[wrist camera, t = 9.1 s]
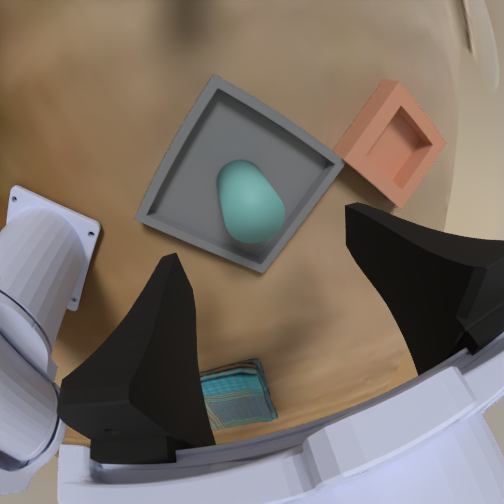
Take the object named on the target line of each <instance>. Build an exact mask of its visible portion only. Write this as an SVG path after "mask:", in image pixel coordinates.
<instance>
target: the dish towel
mask: <svg viewBox="0 0 504 504" xmlns="http://www.w3.org/2000/svg"><path fill="white" fill-rule="evenodd" d="M199 374H200V379H201V385H202V390H203V395H204V400H205V405H206V409H207V413H208V417H209V421H210V425H211V429H212V430H217V429H222V428H226V427H232V426H236V425H244V424H248V423H255V422H267V421H272V420H273V419H277V417H278V414H277V410H276V408H274V407H273V404H272V402H271V399H270V393H269V389H268V387H267V383H266V379H265V375H264V371H263V369H262V366H261V363H260V361H259V359H251V360H246V361H242V362H239V363H235V364H231V365H227V366H224V367H220V368H216V369H213V370H209V371H206V372H202V373H199Z"/></svg>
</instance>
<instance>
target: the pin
mask: <svg viewBox="0 0 504 504" xmlns="http://www.w3.org/2000/svg"><path fill="white" fill-rule="evenodd" d="M216 186H217V191H218V195H219V200H220V204H221V209H222V213H223V218H224V222H225V226H226V229H227V230H228V232H229V233H230V235H231V236H232V237H234V238H235V239H237V240H239V241H241V242H244V243H259V242H263V241H265V240H267V239H269V238H271V237H272V236H274V235H275V234H276V233H277V232H278V231H279V229H280V228H281V226H282V224H283V222H284V218H285V208H284V205H283V202H282V201H281V199H280V198H279V196H278V195H277V193H276V192H275V190H274V189H273V188H272V186H271V185H270V183H269V182H268V180H267V179H266V178H265V176H264V175H263V173H262V172H261V170H260V169H259V168H258V167H257V166H256V165H255V164H254V163H252V162H250V161H248V160H241V159H240V160H234V161H231V162H229V163H227V164H226V165H225V166H223V167H222V169H221V170H220V171H219V173H218V176H217V179H216Z"/></svg>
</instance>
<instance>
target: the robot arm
mask: <svg viewBox="0 0 504 504" xmlns="http://www.w3.org/2000/svg"><path fill="white" fill-rule="evenodd" d="M14 196H15V197H16V198H17V200H15V198H14ZM345 221H346V246H347V248H348V249H349V251H350V253H351V255H352V257H353V258H354V260H355V262H356V263H357V265H358V266H359V267H360V269H361V270H362V271H363V273H364V274H365V275H366V277H367V278H368V279H369V280H370V282H371V283H372V284H373V286H374V287H375V288H376V290H377V291H378V293H379V294H380V295H381V297H382V298H383V300H384V301H385V303H386V304H387V306H388V308H389V309H390V311H391V313H392V315H393V317H394V319H395V320H396V322H397V324H398V326H399V329H400V331H401V333H402V335H403V337H404V339H405V341H406V344H407V346H408V348H409V351H410V353H411V356H412V358H413V361H414V364H415V367H416V370H417V373H418V377H415V378H414V379H412V380H410V381H408V382H406V383H404V384H402V385H400V386H398V387H396V388H394V389H392V390H390V391H388V392H385V393H383V394H381V395H379V396H377V397H374V398H372V399H370V400H368V401H365V402H363V403H360V404H358V405H356V406H353V407H351V408H348V409H346V410H343V411H340V412H338V413H335V414H332V415H329V416H327V417H324V418H321V419H318V420H315V421H312V422H309V423H306V424H302V425H299V426H296V427H293V428H289V429H286V430H282V431H278V432H275V433H271V434H267V435H263V436H258V437H254V438H250V439H245V440H240V441H235V442H230V443H225V444H219V445H216V443H215V440H214V436H213V433H212V429H211V425H210V421H209V417H208V413H207V409H206V405H205V400H204V395H203V390H202V385H201V379H200V374H199V367H198V359H197V336H196V308H195V301H194V295H193V289H192V287H191V285H190V282H189V280H188V278H187V276H186V274H185V271H184V269H183V267H182V265H181V262H180V260H179V258H178V256H177V253H173V254H170V255H167V256H163V257H162V258H161V260H160V261H159V263H158V265H157V267H156V268H155V270H154V272H153V274H152V275H151V277H150V279H149V280H148V282H147V284H146V286H145V287H144V289H143V291H142V292H141V294H140V295H139V297H138V298H137V300H136V302H135V303H134V305H133V306H132V308H131V309H130V311H129V312H128V314H127V315H126V316H125V318H124V319H123V320H122V322H121V323H120V324H119V325H118V327H117V328H116V329H115V330H114V331H113V333H112V334H111V335H110V336H109V337H108V338H107V339H106V340H105V342H104V343H103V344H102V345H101V346H100V347H99V348H98V349H97V350H96V351H95V352H94V353H93V354H92V355H91V356H90V357H89V358H88V359H87V360H86V361H84V362H83V363H82V364H81V365H80V366H79V367H77V368H76V369H75V370H74V371H72V372H71V373H70V374H69V375H68V376H66V377H65V378H64V379H62V383H61V388H59V386H58V385H57V384H56V383H54V381H55V376H56V372H57V368H58V366H57V365H56V364H55V363H54V362H53V360H52V358H51V354H52V351H53V347H54V344H55V341H56V338H57V334H58V331H59V328H60V325H61V323H62V320H63V317H64V314H65V311H66V309H69V310H72V311H76V310H77V309H78V306H79V301H80V297H81V293H82V289H83V285H84V282H85V278H86V274H87V271H88V267H89V264H90V260H91V257H92V254H93V250H94V247H95V244H96V241H97V238H98V235H99V232H100V229H101V226H100V224H99V222H97V221H95V220H93V219H91V218H88V217H86V216H84V215H82V214H79V213H77V212H75V211H73V210H70V209H68V208H66V207H64V206H62V205H59V204H57V203H55V202H53V201H51V200H48V199H46V198H44V197H42V196H40V195H37V194H35V193H33V192H31V191H29V190H27V189H25V188H23V187H20V186H18V185H16V186H14V187H13V188H12V189H11V192H10V199H9V206H8V214H7V223H6V226H5V227H4V228H3V229H2V231H1V232H0V496H2V495H7V494H13V493H17V492H21V491H24V490H26V489H27V488H28V486H29V483H30V481H31V479H32V477H33V475H34V474H35V472H36V471H37V470H38V469H39V468H40V467H41V466H43V465H44V464H46V463H47V462H48V461H50V460H51V459H52V458H53V457H54V456H55V454H56V453H57V451H58V450H59V463H58V503H59V504H504V457H503V455H502V453H501V451H500V449H499V447H498V445H497V443H496V441H495V439H494V437H493V435H492V433H491V431H490V429H489V427H488V425H487V423H486V422H485V420H484V418H483V416H482V414H483V413H484V412H485V411H486V410H488V409H489V408H490V407H491V406H492V405H494V404H495V403H496V402H497V401H498V400H499V399H500V398H501V397H502V396H504V241H503V240H485V239H477V238H470V237H464V236H458V235H453V234H449V233H445V232H441V231H437V230H434V229H430V228H427V227H424V226H421V225H418V224H415V223H412V222H409V221H406V220H404V219H401V218H399V217H396V216H394V215H391V214H389V213H386V212H384V211H381V210H378V209H376V208H373V207H371V206H368V205H365V204H362V203H358V202H357V203H353V204H349V205H345ZM90 231H91V232H93V233H94V234H95V235H91V234H90ZM74 298H75V299H74ZM67 425H68V426H69V427H71V428H72V429H74V430H75V431H77V432H79V433H80V434H82V435H84V436H85V437H87V438H89V439H91V447H88V446H85V445H76V444H62V442H63V439H64V437H65V433H66V429H67ZM59 448H60V449H59Z"/></svg>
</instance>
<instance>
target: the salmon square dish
mask: <svg viewBox="0 0 504 504" xmlns="http://www.w3.org/2000/svg"><path fill="white" fill-rule="evenodd" d="M445 145H446V141H445V140H444V139H443V137H442V136H441V134H440V133H439V131H438V130H437V128H436V127H435V126H434V124H433V123H432V122H431V120H430V119H429V118H428V116H427V115H426V114H425V112H424V111H423V110H422V108H421V107H420V106H419V105H418V103H417V102H416V101H415V100H414V99H413V97H412V96H411V95H410V94H409V93H408V91H407V90H406V89H405V88H404V87H403V86H402V84H401V83H400V82H398V81H391V80H383V81H382V83H381V84H380V86H379V87H378V88H377V90H376V91H375V93H374V94H373V95H372V97H371V98H370V100H369V101H368V102H367V104H366V105H365V107H364V108H363V109H362V111H361V112H360V114H359V115H358V116H357V118H356V119H355V121H354V122H353V123H352V125H351V126H350V127H349V129H348V130H347V132H346V133H345V134H344V136H343V137H342V139H341V140H340V141H339V143H338V144H337V146H336V147H335V148H334V150H333V152H334V153H336V154H337V155H338V156H339V157H341V158H342V159H343V160H344V161H346V164H347V165H349V166H350V167H351V168H352V169H354V170H355V171H356V172H357V173H358V174H360V175H361V176H362V177H363V178H364V179H366V180H367V181H368V182H369V183H370V184H371V185H373V186H374V187H375V188H376V189H377V190H378V191H379V192H381V193H382V194H383V195H384V196H385V197H386V198H387V199H388V200H390V201H391V202H392V203H393V204H395V205H396V206H397V207H398V208H400V209H401V208H402V206H403V205H404V204H405V202H406V201H407V200H408V198H409V197H410V196H411V194H412V193H413V192H414V190H415V189H416V187H417V186H418V185H419V183H420V182H421V180H422V179H423V178H424V176H425V175H426V173H427V172H428V170H429V169H430V168H431V166H432V165H433V163H434V162H435V160H436V159H437V157H438V156H439V154H440V153H441V151H442V150H443V148H444V147H445Z"/></svg>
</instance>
